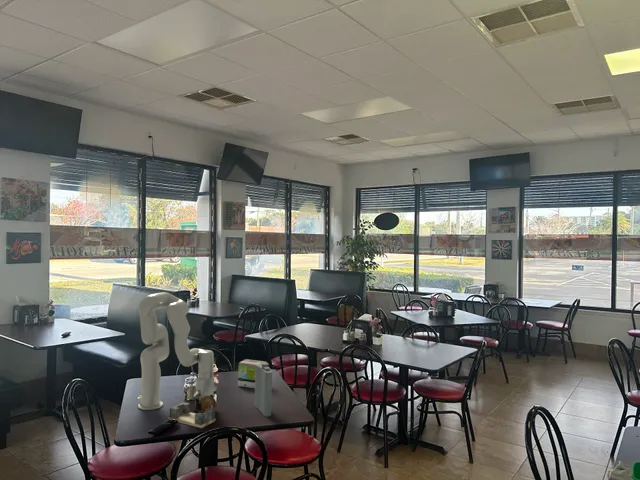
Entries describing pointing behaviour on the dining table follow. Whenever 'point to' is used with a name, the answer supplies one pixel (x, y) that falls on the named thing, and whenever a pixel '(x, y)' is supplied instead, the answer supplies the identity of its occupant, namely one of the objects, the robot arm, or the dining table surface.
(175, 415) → the stand
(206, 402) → the tin
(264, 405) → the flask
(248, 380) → the retro computer
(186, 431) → the dining table surface
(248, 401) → the dining table surface
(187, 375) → the dining table surface
